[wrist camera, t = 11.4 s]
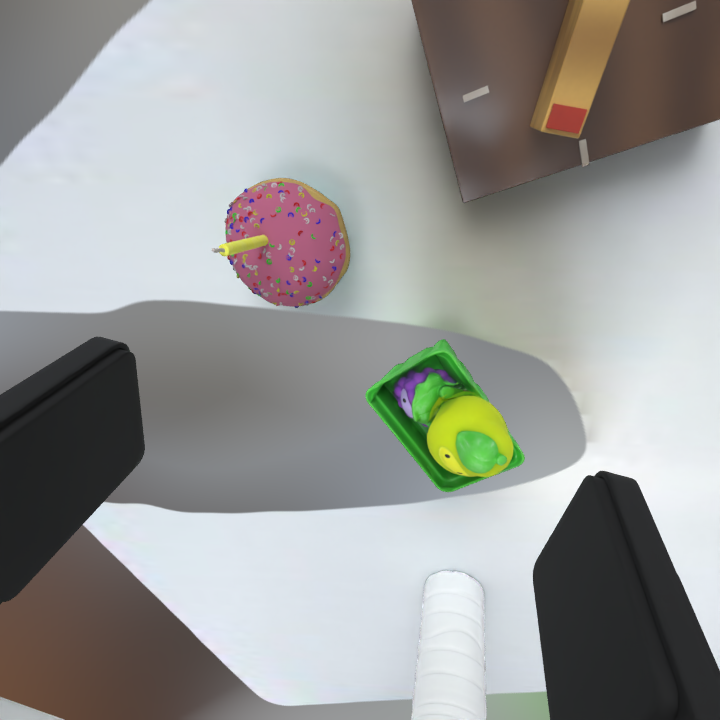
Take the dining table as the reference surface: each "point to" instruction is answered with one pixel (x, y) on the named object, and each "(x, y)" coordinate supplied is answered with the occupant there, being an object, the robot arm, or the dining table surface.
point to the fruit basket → (444, 419)
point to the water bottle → (451, 650)
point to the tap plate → (527, 73)
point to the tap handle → (577, 65)
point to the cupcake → (286, 242)
